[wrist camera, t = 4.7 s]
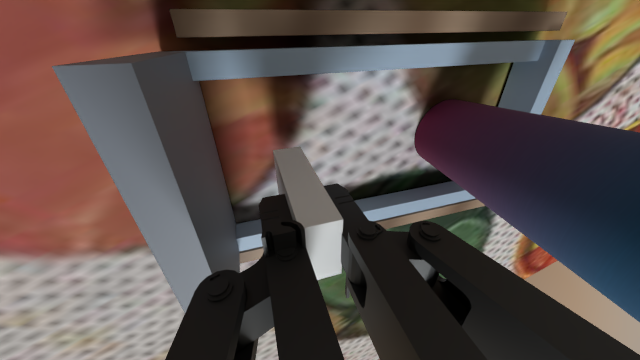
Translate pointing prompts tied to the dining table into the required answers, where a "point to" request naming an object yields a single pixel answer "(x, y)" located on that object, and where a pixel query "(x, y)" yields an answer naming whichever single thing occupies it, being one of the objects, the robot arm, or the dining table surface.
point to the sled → (199, 146)
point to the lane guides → (353, 23)
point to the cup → (549, 185)
